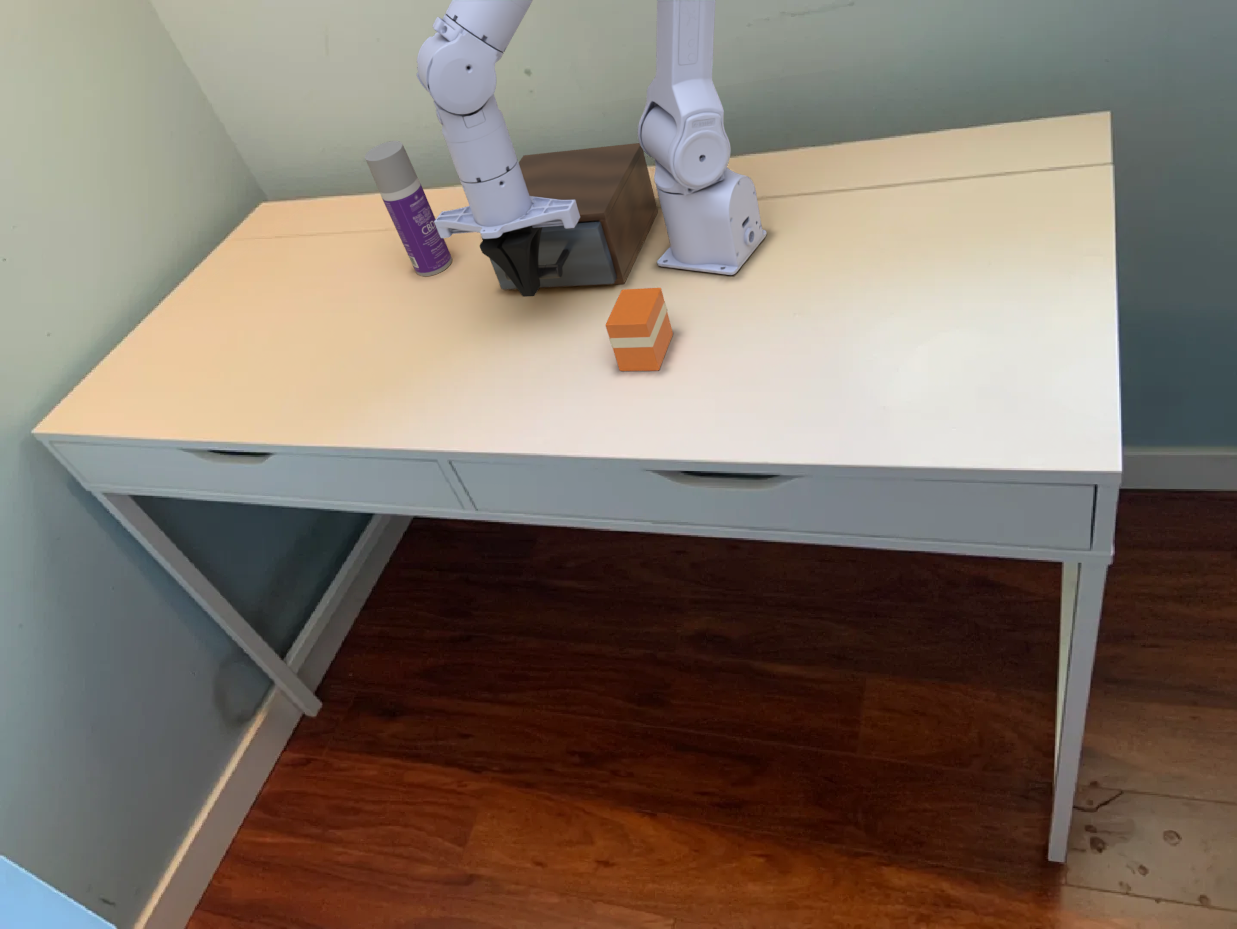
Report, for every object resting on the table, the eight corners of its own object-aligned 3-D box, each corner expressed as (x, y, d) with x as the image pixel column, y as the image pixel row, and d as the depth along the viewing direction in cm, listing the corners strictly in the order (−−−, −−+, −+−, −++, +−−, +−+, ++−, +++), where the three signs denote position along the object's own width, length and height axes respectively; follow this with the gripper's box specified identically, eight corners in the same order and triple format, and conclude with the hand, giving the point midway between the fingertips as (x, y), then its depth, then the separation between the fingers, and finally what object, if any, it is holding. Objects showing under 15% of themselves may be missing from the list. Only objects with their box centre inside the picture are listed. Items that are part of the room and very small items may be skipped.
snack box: (659, 370, 90) (646, 323, 86) (619, 371, 92) (604, 325, 88) (673, 333, 94) (661, 287, 90) (634, 335, 95) (621, 288, 92)
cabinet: (624, 284, 102) (603, 212, 97) (503, 290, 108) (476, 223, 102) (658, 211, 112) (641, 142, 106) (545, 220, 117) (523, 155, 112)
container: (445, 274, 114) (395, 157, 104) (410, 278, 115) (357, 163, 105) (457, 252, 117) (409, 137, 107) (423, 256, 118) (372, 143, 108)
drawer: (602, 307, 98) (584, 250, 94) (487, 312, 103) (465, 258, 99) (646, 215, 110) (632, 160, 106) (541, 223, 115) (523, 171, 110)
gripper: (403, 196, 89) (454, 316, 98) (545, 182, 84) (585, 310, 93) (433, 160, 94) (479, 278, 103) (569, 144, 89) (605, 270, 98)
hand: (531, 291), depth 98 cm, fingers closed, pressing on drawer
